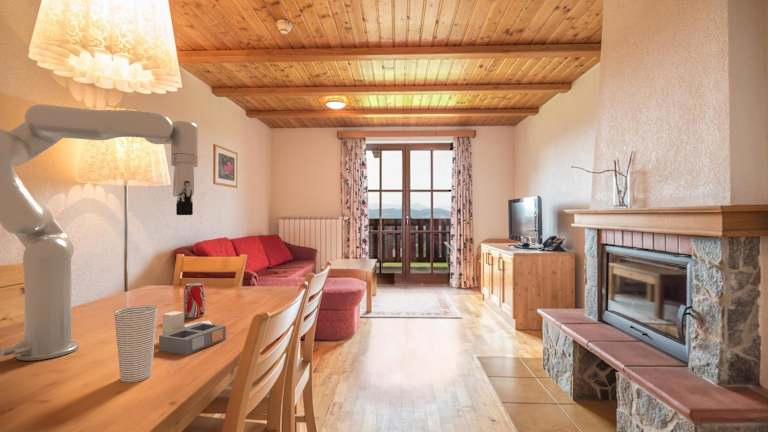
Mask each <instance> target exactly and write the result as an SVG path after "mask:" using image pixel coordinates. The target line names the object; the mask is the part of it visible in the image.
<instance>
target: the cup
mask: <svg viewBox="0 0 768 432" xmlns="http://www.w3.org/2000/svg"><path fill="white" fill-rule="evenodd" d="M158 309H159V308H158V306H155V305H135V306H128V307H123V308H118V309H117V310H115V311H113V314H114V326H115V336H116V345H117V346H116V347H117V356H118V357H117V358H118V366H119V377H120V382H122V383H135V382H136V383H137V382H140V381H141V382H142V381H143V380H146V379H148V378H150V377H151V376H152V373H153V371H152V370H153V361H154V351H155V340H156V332H157V330H156V329H157V321H158Z"/></svg>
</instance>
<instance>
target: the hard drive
mask: <svg viewBox="0 0 768 432" xmlns="http://www.w3.org/2000/svg"><path fill="white" fill-rule="evenodd" d="M197 323H207V324H213V323H212V321H210V320H203V321H198V322H191V323H186V324H185V323H184V328H185V327H188V326H191V325H194V324H197Z"/></svg>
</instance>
